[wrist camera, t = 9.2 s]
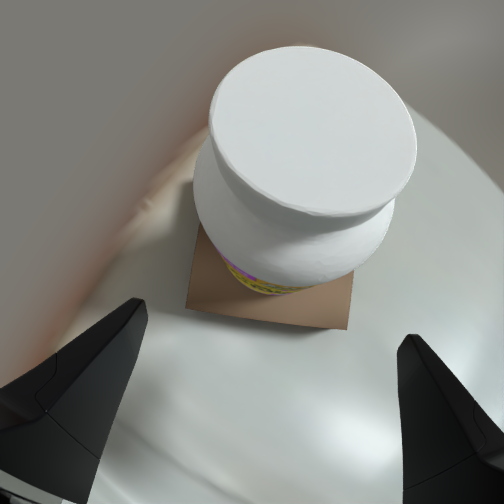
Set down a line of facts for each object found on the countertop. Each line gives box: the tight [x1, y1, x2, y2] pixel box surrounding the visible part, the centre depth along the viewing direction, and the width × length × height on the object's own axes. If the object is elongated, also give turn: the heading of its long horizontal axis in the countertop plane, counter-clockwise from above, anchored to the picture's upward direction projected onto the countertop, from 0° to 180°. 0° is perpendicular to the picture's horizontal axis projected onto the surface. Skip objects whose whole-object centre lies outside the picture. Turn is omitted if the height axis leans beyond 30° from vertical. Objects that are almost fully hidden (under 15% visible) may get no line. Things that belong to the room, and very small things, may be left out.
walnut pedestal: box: [185, 221, 354, 330], centre depth 19 cm, size 10×10×2 cm
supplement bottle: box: [193, 46, 417, 295], centre depth 12 cm, size 7×7×13 cm
